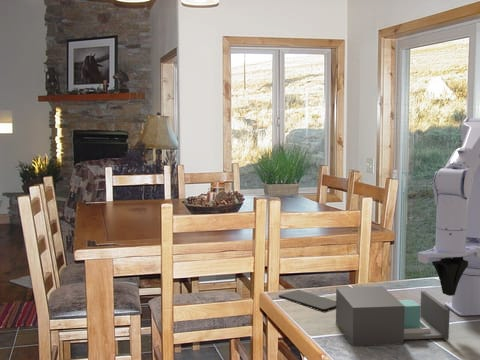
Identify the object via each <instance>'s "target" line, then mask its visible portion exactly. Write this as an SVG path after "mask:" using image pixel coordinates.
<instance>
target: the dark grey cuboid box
mask: <svg viewBox="0 0 480 360" xmlns="http://www.w3.org/2000/svg"><path fill="white" fill-rule="evenodd" d="M335 295H336V296H335V301H336V309H335V323H336V324H337V326H338V327H339V329H340V330H341V331H342V333H343V334H344V336H345V337H346V339H347V340H348V341H349V342H350V344H351V346H352V347H353V346H354V347H357V346H358V347H360V346H361V347H362V346H381V345H382V346H384V345H404V343H405V341H404V340H405V339H404V313H405V306H404V305H403V304H402V303H401V302H400V301H398V300H399V299H397V298H396V297H395V296H394V295H393V294H392V293H391V292H390V291H389V290H387V289H386V288H385V287H384V286H357V287H356V286H353V287H351V286H350V287H347V286H346V287H336V291H335Z"/></svg>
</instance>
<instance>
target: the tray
mask: <svg viewBox="0 0 480 360" xmlns="http://www.w3.org/2000/svg"><path fill="white" fill-rule="evenodd" d="M450 310H451V309H450V308H449V307H447V306H446V305H445V304H443V303H441V302H440V301H439V300H437V299H436V298H434V297H433V296H432V295H431V294H429V293H428V292H426V291H425V290H421V291H420V328H408V329H404V340H421V339H422V340H425V339H426V340H427V339H443V341H449V340H450V339H449V338H450V337H449V334H450Z"/></svg>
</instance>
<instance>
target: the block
mask: <svg viewBox="0 0 480 360" xmlns="http://www.w3.org/2000/svg"><path fill="white" fill-rule="evenodd" d="M397 300H398V301H400V302H401V303H402V304H403V305H404V306H405V313H404V329H408V328H420V311H421V304H419V303H418V302H416V301H415V300H414V299H397Z"/></svg>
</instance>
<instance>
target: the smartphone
mask: <svg viewBox="0 0 480 360" xmlns="http://www.w3.org/2000/svg"><path fill="white" fill-rule="evenodd" d="M278 297H279V298H281V299H285V300H286V301H290V300H291V301H290V302H293V301H294V302H293V303H296V302H298V303H301V304H303V305H302V306H304V305H306V306H305V307H307V306H309V307H308V308H310V307H312V308H311V309H313V308H315V309H314V310H316V309H318V310H317V311H319V310H321V311H320V312H322V311H326V312H329V311H328V310H330V311H332V309H333V310H336V309H335V308H336V300H334V299H330V298H326V297H323V296H319V295H317V294H313V293H311V292H307V291H304V290H299V289H295V290H291V291H287V292H284V293H280V294H278ZM298 303H297V304H298ZM301 304H300V305H301Z"/></svg>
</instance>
